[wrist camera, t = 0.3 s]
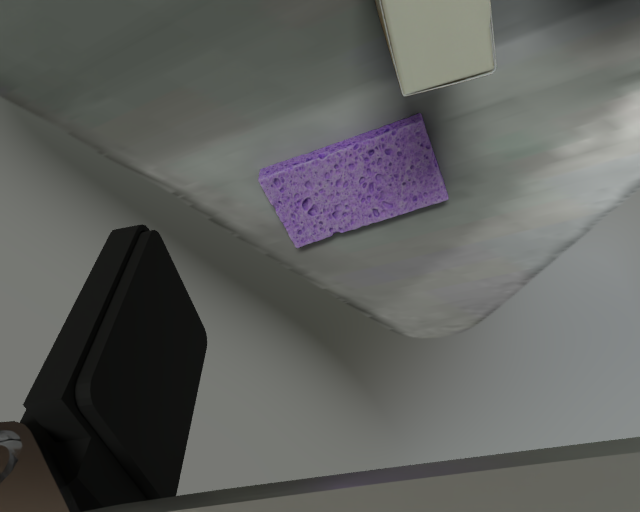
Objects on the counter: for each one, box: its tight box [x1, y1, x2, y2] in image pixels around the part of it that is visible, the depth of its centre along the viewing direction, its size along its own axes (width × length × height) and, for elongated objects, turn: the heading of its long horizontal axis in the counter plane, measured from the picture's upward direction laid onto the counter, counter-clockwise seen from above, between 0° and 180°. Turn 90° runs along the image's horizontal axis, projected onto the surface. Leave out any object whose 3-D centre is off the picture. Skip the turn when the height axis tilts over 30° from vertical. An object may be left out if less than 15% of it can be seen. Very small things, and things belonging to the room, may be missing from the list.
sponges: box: [258, 113, 448, 248], centre depth 41 cm, size 7×13×2 cm, turn 112°
